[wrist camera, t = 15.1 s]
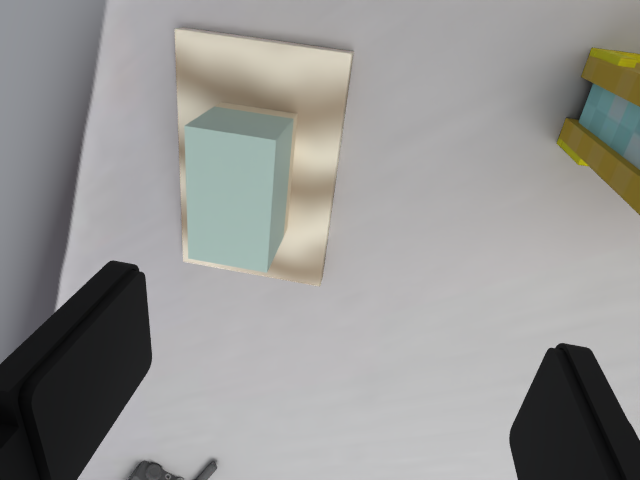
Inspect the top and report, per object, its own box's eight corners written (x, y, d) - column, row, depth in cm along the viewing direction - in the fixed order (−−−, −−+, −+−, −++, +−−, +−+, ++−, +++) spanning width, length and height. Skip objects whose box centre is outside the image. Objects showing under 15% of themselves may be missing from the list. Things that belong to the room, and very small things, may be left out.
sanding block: (221, 102, 36) (184, 125, 30) (297, 113, 36) (276, 140, 29) (220, 217, 41) (188, 258, 35) (287, 229, 40) (267, 272, 34)
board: (182, 27, 35) (174, 29, 34) (353, 51, 34) (351, 53, 33) (189, 253, 45) (183, 261, 44) (322, 277, 44) (320, 286, 43)
